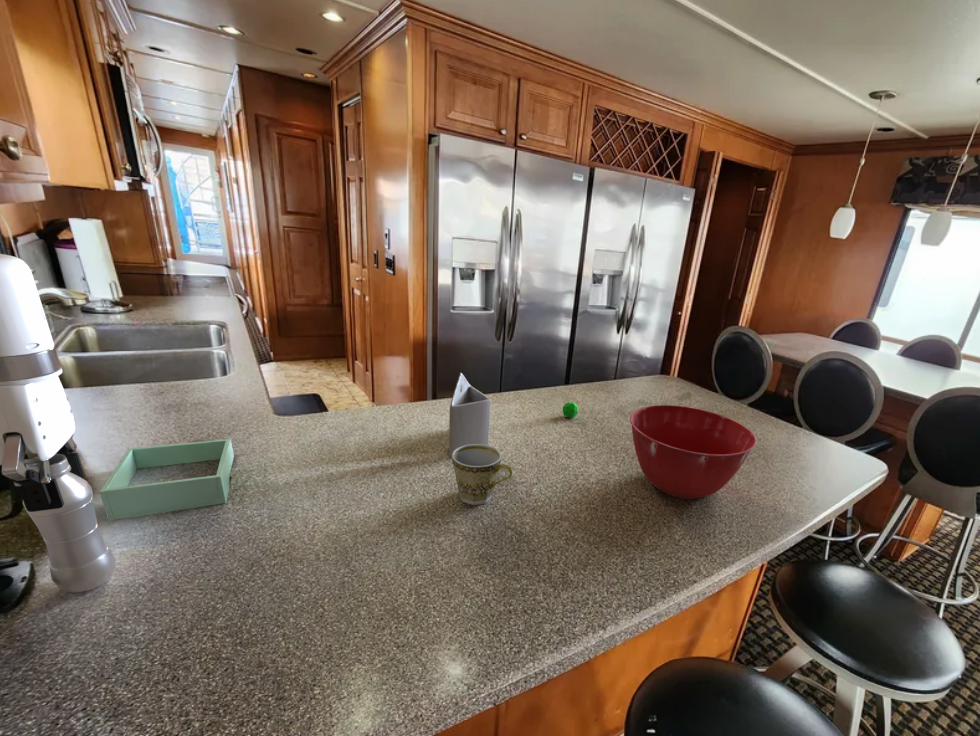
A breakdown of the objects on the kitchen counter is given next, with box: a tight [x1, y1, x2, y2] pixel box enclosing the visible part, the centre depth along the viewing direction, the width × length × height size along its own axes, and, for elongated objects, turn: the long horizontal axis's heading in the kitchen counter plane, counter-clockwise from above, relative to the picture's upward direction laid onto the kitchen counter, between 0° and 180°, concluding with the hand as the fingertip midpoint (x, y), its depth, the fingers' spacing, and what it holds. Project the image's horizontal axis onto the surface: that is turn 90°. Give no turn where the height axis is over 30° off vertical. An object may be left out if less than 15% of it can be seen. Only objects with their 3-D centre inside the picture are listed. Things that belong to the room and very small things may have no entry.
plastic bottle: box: [22, 454, 117, 593], centre depth 62 cm, size 6×7×20 cm
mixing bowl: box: [629, 404, 757, 500], centre depth 108 cm, size 28×28×15 cm
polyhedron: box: [562, 401, 579, 419], centre depth 143 cm, size 5×5×5 cm
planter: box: [448, 372, 492, 459], centre depth 115 cm, size 16×8×19 cm, turn 175°
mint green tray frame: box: [99, 438, 235, 522], centre depth 88 cm, size 17×17×6 cm
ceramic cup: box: [451, 444, 513, 506], centre depth 95 cm, size 13×10×10 cm
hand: (58, 492), depth 60 cm, fingers closed on plastic bottle, 6 cm apart
